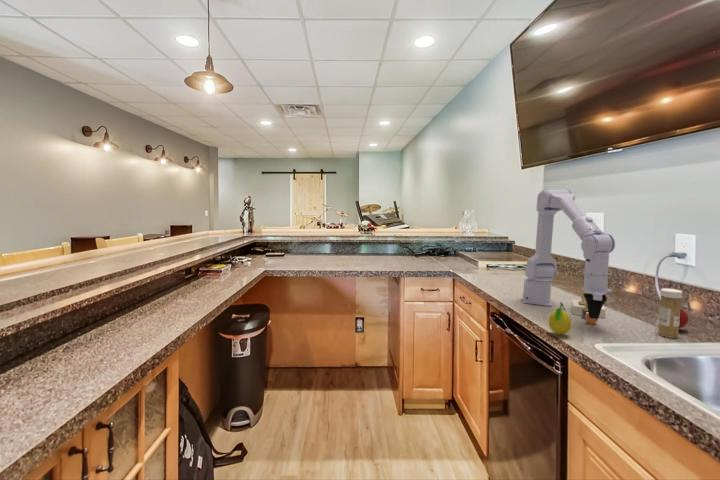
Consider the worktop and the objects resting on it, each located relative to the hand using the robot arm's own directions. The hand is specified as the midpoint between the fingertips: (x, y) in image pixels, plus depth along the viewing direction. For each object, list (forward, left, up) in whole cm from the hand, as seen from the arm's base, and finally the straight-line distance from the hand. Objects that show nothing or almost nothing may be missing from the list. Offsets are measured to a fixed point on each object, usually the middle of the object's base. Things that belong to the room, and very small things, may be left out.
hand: (593, 318), depth 101 cm
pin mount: (0, +10, -3) cm, 11 cm away
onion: (+21, +10, -4) cm, 24 cm away
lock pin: (0, +8, -3) cm, 9 cm away
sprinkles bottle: (+18, +3, -4) cm, 19 cm away
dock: (0, +17, -3) cm, 18 cm away
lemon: (-9, -11, -4) cm, 14 cm away
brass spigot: (0, +17, -3) cm, 18 cm away
